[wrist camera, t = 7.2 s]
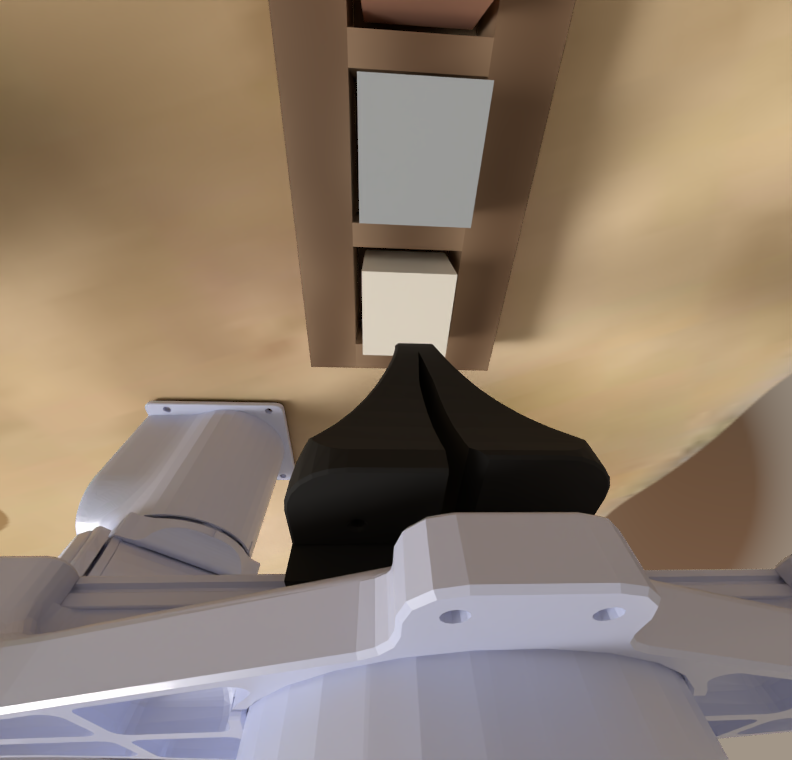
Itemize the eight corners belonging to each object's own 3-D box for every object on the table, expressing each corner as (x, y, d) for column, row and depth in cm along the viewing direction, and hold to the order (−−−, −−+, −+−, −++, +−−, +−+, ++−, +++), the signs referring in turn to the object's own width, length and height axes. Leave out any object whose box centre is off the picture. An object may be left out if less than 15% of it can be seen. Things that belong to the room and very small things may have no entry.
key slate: (364, 208, 15) (359, 223, 12) (363, 89, 13) (356, 71, 10) (453, 212, 15) (470, 227, 12) (468, 96, 13) (494, 80, 10)
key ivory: (366, 322, 19) (362, 354, 16) (365, 249, 17) (361, 271, 14) (435, 324, 19) (445, 356, 16) (444, 252, 17) (457, 274, 14)
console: (320, 339, 21) (311, 366, 19) (264, -256, 10) (221, -401, 7) (474, 343, 22) (487, 370, 19) (588, -220, 10) (657, -343, 8)
